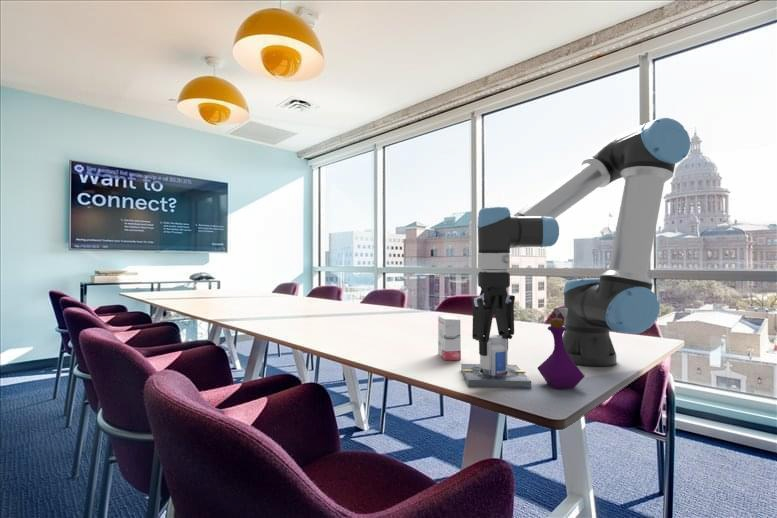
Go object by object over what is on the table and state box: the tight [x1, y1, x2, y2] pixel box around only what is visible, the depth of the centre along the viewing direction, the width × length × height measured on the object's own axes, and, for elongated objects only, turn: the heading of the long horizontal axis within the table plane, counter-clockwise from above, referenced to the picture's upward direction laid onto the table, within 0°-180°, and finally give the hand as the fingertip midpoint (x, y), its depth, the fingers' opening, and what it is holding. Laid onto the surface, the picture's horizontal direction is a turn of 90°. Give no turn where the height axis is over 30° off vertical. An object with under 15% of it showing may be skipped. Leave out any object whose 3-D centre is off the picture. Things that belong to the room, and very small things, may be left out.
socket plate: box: [461, 363, 532, 389], centre depth 99 cm, size 15×14×2 cm
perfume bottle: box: [537, 307, 585, 390], centre depth 93 cm, size 8×8×18 cm
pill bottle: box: [483, 334, 506, 376], centre depth 99 cm, size 6×5×10 cm
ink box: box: [437, 315, 462, 361], centre depth 120 cm, size 9×5×12 cm, turn 7°
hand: (493, 366), depth 99 cm, fingers closed on pill bottle, 5 cm apart
